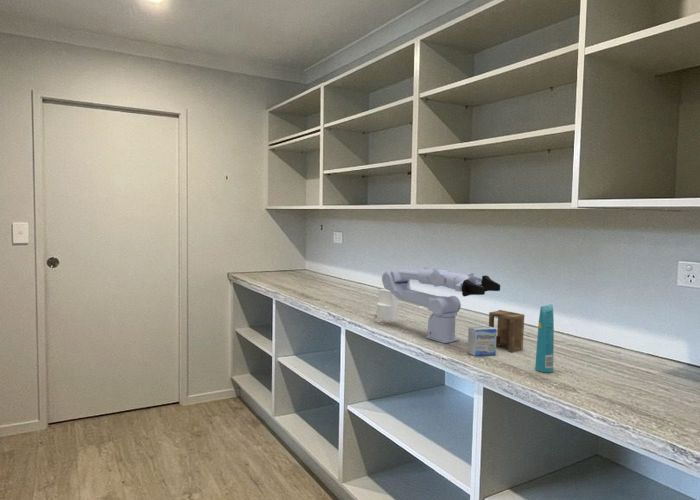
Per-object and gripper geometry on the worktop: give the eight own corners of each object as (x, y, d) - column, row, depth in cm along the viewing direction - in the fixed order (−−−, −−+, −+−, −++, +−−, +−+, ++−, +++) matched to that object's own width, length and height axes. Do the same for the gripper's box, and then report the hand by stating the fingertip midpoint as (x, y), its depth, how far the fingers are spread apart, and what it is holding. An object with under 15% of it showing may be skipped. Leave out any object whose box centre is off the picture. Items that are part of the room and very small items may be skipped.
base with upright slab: (401, 318, 212) (402, 290, 211) (386, 320, 206) (387, 292, 206) (387, 314, 219) (388, 288, 218) (372, 317, 213) (373, 289, 212)
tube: (540, 365, 147) (543, 302, 146) (556, 369, 144) (560, 304, 143) (530, 371, 141) (534, 305, 140) (547, 375, 138) (551, 308, 137)
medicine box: (474, 356, 155) (475, 329, 155) (467, 352, 160) (468, 326, 159) (496, 355, 158) (497, 328, 157) (488, 351, 162) (489, 325, 161)
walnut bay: (487, 346, 168) (489, 311, 168) (498, 343, 172) (500, 309, 172) (511, 352, 161) (513, 316, 160) (522, 349, 165) (524, 314, 164)
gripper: (445, 273, 165) (477, 280, 154) (474, 268, 173) (506, 274, 162) (445, 294, 166) (476, 302, 155) (473, 287, 174) (505, 295, 163)
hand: (491, 289), depth 158 cm, fingers open, 7 cm apart
